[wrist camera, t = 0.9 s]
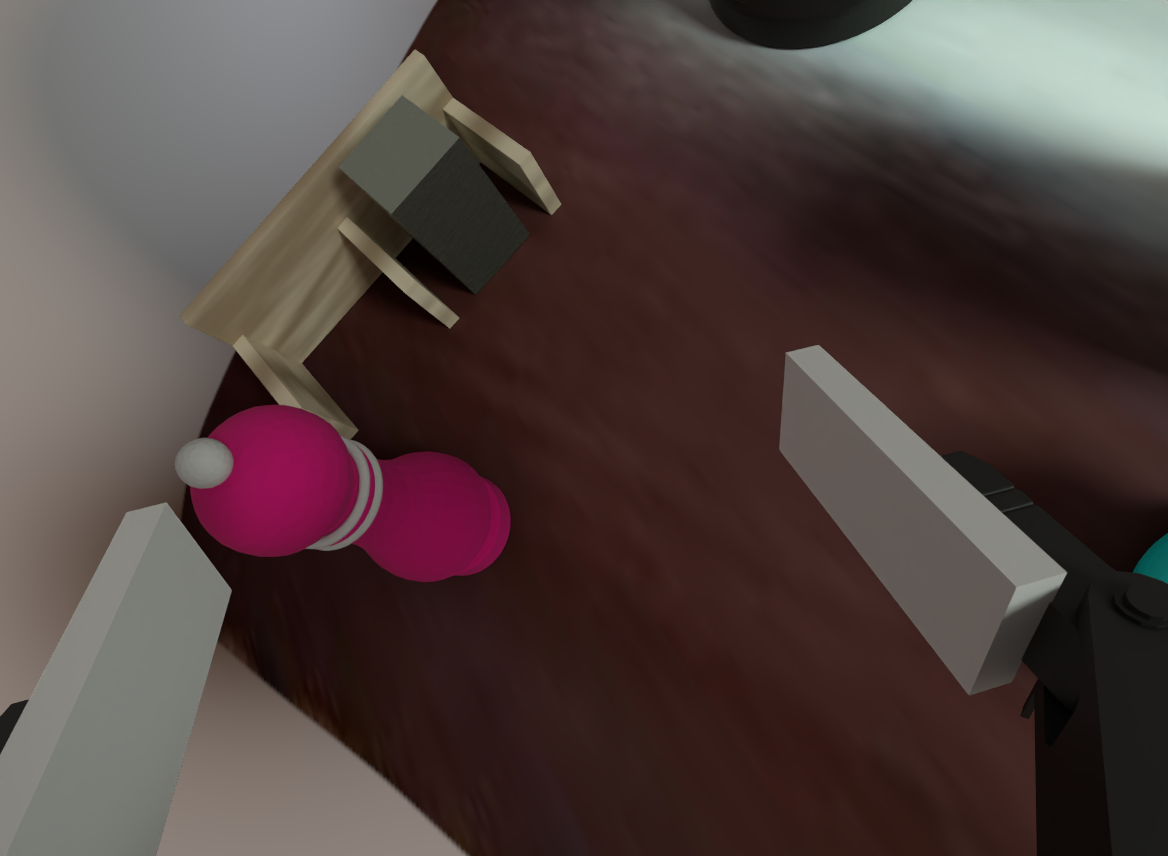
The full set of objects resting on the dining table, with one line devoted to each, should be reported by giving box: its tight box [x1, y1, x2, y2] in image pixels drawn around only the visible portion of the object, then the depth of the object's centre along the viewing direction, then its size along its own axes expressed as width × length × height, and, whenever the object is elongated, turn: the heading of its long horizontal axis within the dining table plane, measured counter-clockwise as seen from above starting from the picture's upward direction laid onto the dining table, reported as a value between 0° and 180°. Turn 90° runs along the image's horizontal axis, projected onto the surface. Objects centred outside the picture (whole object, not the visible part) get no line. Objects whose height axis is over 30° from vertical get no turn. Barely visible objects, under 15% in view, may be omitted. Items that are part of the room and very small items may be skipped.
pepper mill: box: [175, 405, 510, 582], centre depth 31 cm, size 7×7×20 cm
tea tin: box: [339, 95, 530, 295], centre depth 40 cm, size 6×6×10 cm
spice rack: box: [180, 50, 561, 440], centre depth 42 cm, size 9×22×9 cm, turn 135°
